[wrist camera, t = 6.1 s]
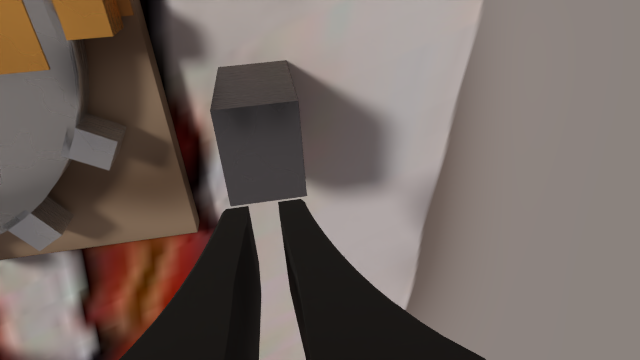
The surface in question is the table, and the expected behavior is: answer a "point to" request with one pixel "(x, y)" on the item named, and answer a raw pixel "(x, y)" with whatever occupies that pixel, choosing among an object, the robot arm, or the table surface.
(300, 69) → the table surface
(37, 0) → the sprocket wheel
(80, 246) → the base
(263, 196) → the brushed metal cube
